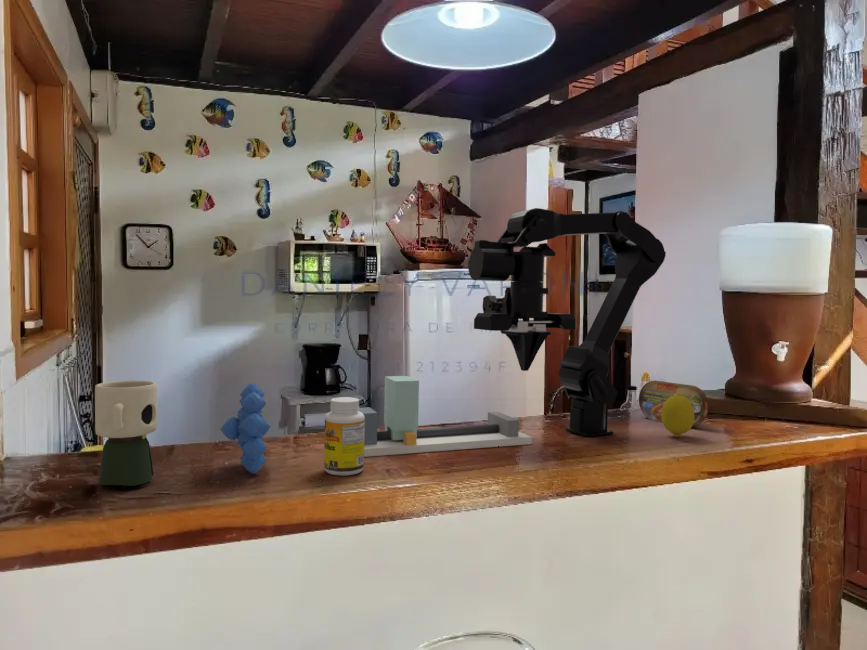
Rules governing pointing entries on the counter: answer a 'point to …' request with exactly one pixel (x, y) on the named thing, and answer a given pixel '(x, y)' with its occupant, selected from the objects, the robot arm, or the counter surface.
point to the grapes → (249, 428)
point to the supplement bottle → (344, 437)
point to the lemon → (677, 415)
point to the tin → (660, 391)
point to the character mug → (126, 430)
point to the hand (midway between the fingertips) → (524, 370)
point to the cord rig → (443, 436)
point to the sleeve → (401, 405)
